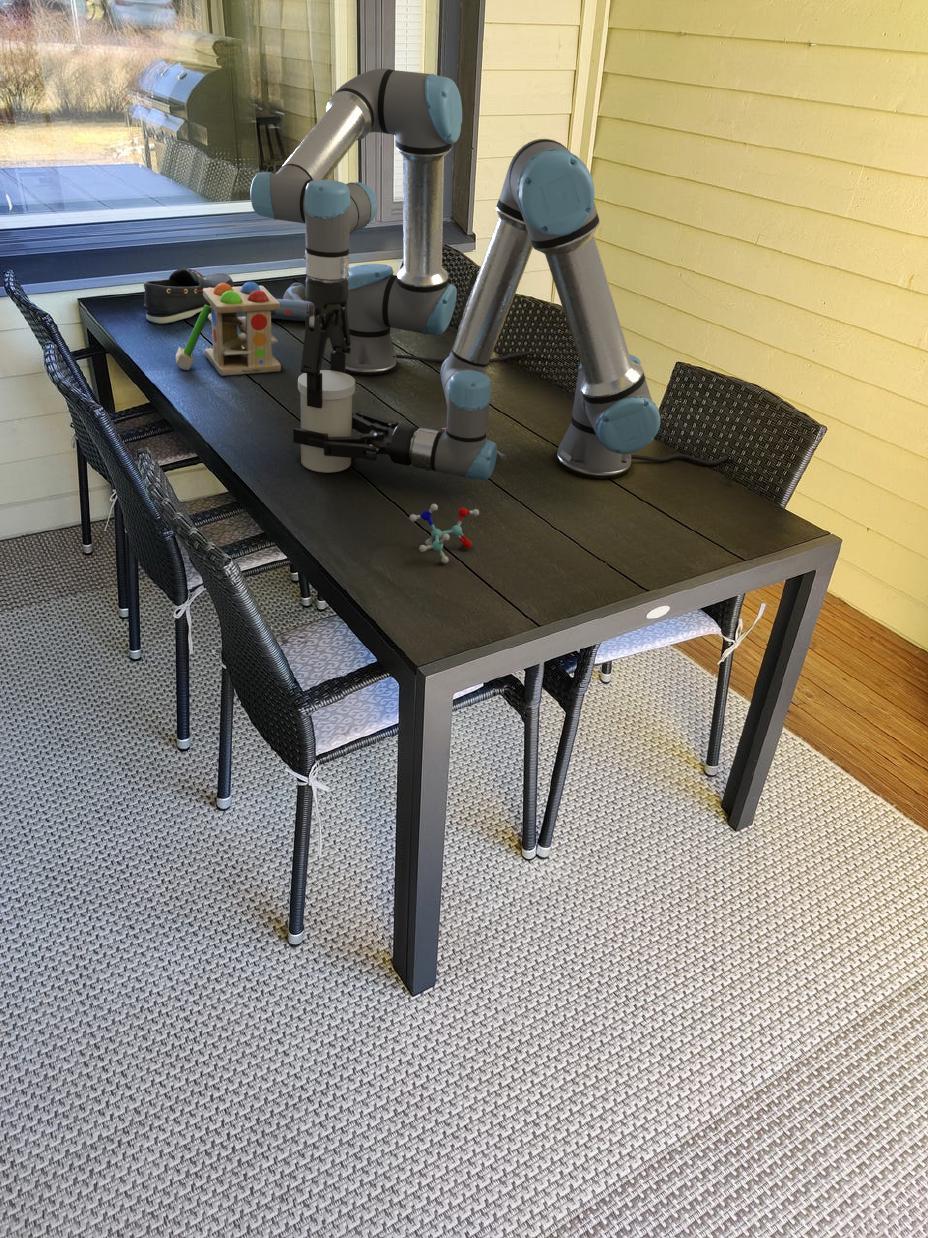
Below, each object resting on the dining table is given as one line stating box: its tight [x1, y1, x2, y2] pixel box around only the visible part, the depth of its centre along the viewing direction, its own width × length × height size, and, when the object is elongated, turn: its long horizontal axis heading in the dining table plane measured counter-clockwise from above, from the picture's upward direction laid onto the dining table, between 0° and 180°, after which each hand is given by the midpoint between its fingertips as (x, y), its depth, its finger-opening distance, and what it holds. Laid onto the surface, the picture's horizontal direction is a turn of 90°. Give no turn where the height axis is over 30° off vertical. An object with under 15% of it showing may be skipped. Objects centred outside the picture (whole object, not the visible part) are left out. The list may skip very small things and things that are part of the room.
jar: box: [299, 392, 354, 473], centre depth 188 cm, size 10×10×16 cm
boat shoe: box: [143, 267, 235, 324], centre depth 260 cm, size 13×33×10 cm, turn 147°
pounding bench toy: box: [174, 281, 282, 377], centre depth 225 cm, size 23×14×18 cm, turn 116°
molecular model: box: [408, 503, 480, 564], centre depth 166 cm, size 12×10×10 cm
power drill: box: [271, 282, 314, 322], centre depth 265 cm, size 5×19×20 cm
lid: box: [297, 369, 356, 400], centre depth 184 cm, size 11×11×2 cm
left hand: (326, 396), depth 185 cm, fingers closed on lid, 11 cm apart
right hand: (305, 425), depth 190 cm, fingers closed on jar, 10 cm apart
